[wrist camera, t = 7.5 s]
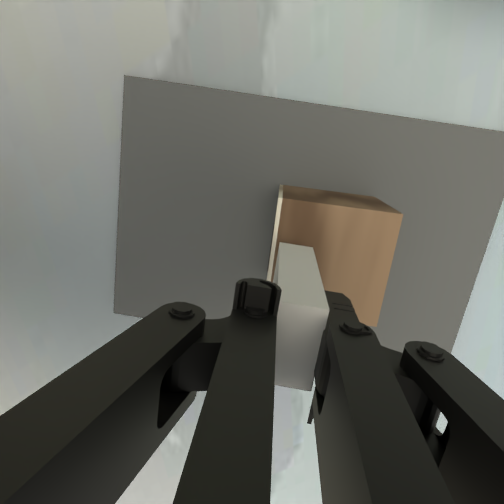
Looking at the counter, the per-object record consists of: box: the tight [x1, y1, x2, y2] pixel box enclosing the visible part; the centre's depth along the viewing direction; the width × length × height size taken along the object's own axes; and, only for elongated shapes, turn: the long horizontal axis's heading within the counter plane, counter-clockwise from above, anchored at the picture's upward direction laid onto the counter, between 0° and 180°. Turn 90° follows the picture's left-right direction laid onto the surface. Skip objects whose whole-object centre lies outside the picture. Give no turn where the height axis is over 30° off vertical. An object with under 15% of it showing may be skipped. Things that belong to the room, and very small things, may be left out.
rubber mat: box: [114, 75, 504, 354], centre depth 25 cm, size 24×16×1 cm, turn 82°
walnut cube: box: [267, 184, 403, 327], centre depth 22 cm, size 6×6×6 cm
